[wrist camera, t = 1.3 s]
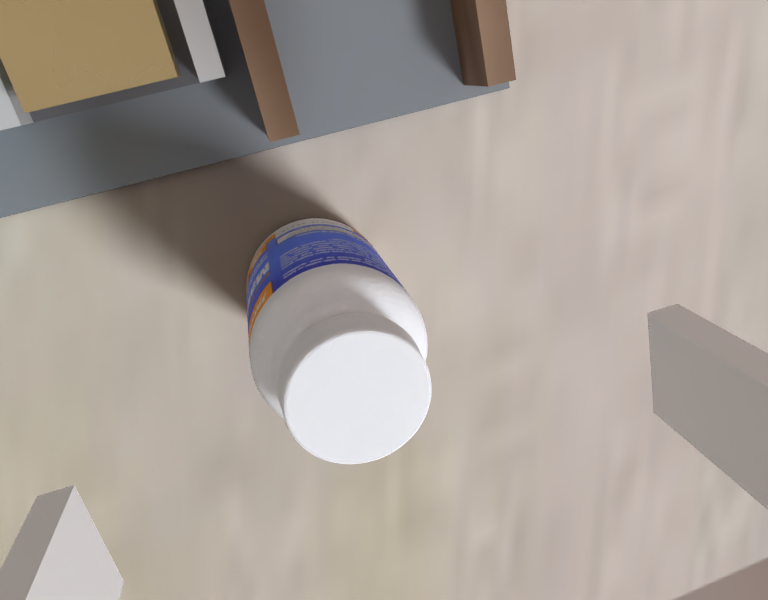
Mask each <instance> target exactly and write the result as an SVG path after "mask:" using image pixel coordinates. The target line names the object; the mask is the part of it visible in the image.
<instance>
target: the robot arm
mask: <svg viewBox="0 0 768 600" xmlns="http://www.w3.org/2000/svg"><path fill="white" fill-rule="evenodd" d="M648 329H649V345H650V361H651V377H652V394H653V410H654V413H655V414H656V415H657V416H659V417H660V418H661V419H662V420H663V421H664V422H666V423H667V424H668V425H669V426H670V427H671V428H673V429H674V430H675V431H676V432H677V433H678V434H680V435H681V436H682V437H683V438H684V439H686V440H687V441H688V442H689V443H690V444H691V445H693V446H694V447H695V448H696V449H697V450H698V451H700V452H701V453H702V454H703V455H704V456H705V457H707V458H708V459H709V460H710V461H711V462H712V463H714V464H715V465H716V466H717V467H718V468H719V469H721V470H722V471H723V472H724V473H725V474H727V475H728V476H729V477H730V478H731V479H732V480H734V481H735V482H736V483H737V484H738V485H739V486H741V487H742V488H743V489H744V490H745V491H746V492H748V493H749V494H750V495H751V496H752V497H753V498H755V499H756V500H757V501H758V502H759V503H761V504H762V505H763V506H764V507H765V508H766V509H768V353H766V352H764V351H762V350H760V349H759V348H757V347H755V346H753V345H751V344H750V343H748V342H746V341H744V340H742V339H740V338H739V337H737V336H735V335H733V334H731V333H730V332H728V331H726V330H724V329H722V328H720V327H719V326H717V325H715V324H713V323H711V322H710V321H708V320H706V319H704V318H702V317H701V316H699V315H697V314H695V313H693V312H691V311H690V310H688V309H686V308H684V307H682V306H681V305H679V304H676V305H672V306H669V307H666V308H662V309H659V310H656V311H652V312H649V313H648ZM123 582H124V581H123V579H122V577H121V575H120V573H119V571H118V569H117V567H116V565H115V563H114V561H113V559H112V557H111V555H110V553H109V551H108V549H107V548H106V546H105V544H104V542H103V540H102V538H101V536H100V534H99V532H98V530H97V528H96V526H95V524H94V522H93V520H92V518H91V516H90V514H89V512H88V511H87V509H86V507H85V505H84V503H83V501H82V499H81V497H80V495H79V493H78V491H77V489H76V487H75V485H73V486H70V487H66V488H63V489H60V490H56V491H53V492H50V493H46V494H43V495H40V496H37V498H36V500H35V502H34V504H33V506H32V508H31V510H30V512H29V514H28V516H27V518H26V520H25V522H24V524H23V526H22V528H21V530H20V532H19V534H18V536H17V538H16V540H15V542H14V544H13V546H12V548H11V550H10V552H9V554H8V556H7V558H6V560H5V562H4V564H3V566H2V568H1V570H0V600H119V598H120V594H121V590H122V586H123Z"/></svg>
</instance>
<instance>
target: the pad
mask: <svg viewBox="0 0 768 600" xmlns="http://www.w3.org/2000/svg"><path fill="white" fill-rule="evenodd" d="M0 58H1V60H2V63H3V65H4V67H5V70H6V72H7V74H8V77H9V79H10V81H11V84H12V86H13V88H14V91H15V93H16V95H17V98H18V100H19V102H20V105H21V107H22V109H23V112H24V113H28V112H33V111H38V110H42V109H46V108H51V107H55V106H59V105H63V104H68V103H72V102H76V101H80V100H84V99H89V98H93V97H97V96H101V95H105V94H110V93H114V92H118V91H122V90H126V89H131V88H135V87H139V86H143V85H147V84H152V83H156V82H160V81H164V80H168V79H173V78H177V77H181V74H180V71H179V68H178V65H177V61H176V58H175V55H174V52H173V49H172V46H171V43H170V40H169V37H168V34H167V31H166V28H165V25H164V22H163V19H162V16H161V13H160V10H159V6H158V3H157V0H0Z"/></svg>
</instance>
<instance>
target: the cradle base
mask: <svg viewBox="0 0 768 600" xmlns="http://www.w3.org/2000/svg"><path fill="white" fill-rule="evenodd" d="M157 3H158V6H159V10H160V13H161V16H162V19H163V22H164V25H165V28H166V31H167V34H168V37H169V40H170V43H171V46H172V49H173V52H174V55H175V58H176V61H177V65H178V68H179V71H180V74H181V77H177V78H173V79H168V80H164V81H160V82H156V83H152V84H147V85H143V86H139V87H135V88H131V89H126V90H122V91H118V92H114V93H110V94H105V95H101V96H97V97H93V98H89V99H84V100H80V101H76V102H72V103H68V104H63V105H59V106H55V107H51V108H46V109H42V110H38V111H33V112H28V113H24V112H23V109H22V107H21V105H20V102H19V100H18V98H17V95H16V93H15V91H14V88H13V86H12V84H11V81H10V79H9V77H8V74H7V72H6V70H5V67H4V65H3V63H2V60H1V58H0V131H1V130H5V129H9V128H13V127H17V126H22V125H26V124H30V123H34V122H38V121H42V120H46V119H51V118H55V117H59V116H63V115H67V114H71V113H76V112H80V111H84V110H88V109H92V108H96V107H101V106H105V105H109V104H113V103H117V102H121V101H126V100H130V99H134V98H138V97H142V96H146V95H151V94H155V93H159V92H163V91H167V90H172V89H176V88H180V87H184V86H188V85H192V84H197V83H201V82H205V81H209V80H213V79H218V78H222V77H226V76H227V75H226V71H225V68H224V65H223V61H222V58H221V55H220V51H219V48H218V45H217V41H216V38H215V35H214V31H213V28H212V25H211V21H210V18H209V15H208V11H207V8H206V5H205V1H204V0H157Z"/></svg>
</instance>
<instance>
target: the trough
mask: <svg viewBox="0 0 768 600" xmlns="http://www.w3.org/2000/svg"><path fill="white" fill-rule="evenodd" d="M228 2H229V5H230V9H231V12H232V16H233V19H234V23H235V26H236V30H237V33H238V37H239V40H240V44H241V47H242V51H243V54H244V58H245V61H246V65H247V68H248V71H249V75H250V78H251V82H252V85H253V89H254V92H255V96H256V99H257V103H258V106H259V110H260V113H261V117H262V120H263V124H264V127H265V131H266V134H267V137H268V140H269V142H273V141H277V140H281V139H285V138H289V137H292V136H296V135H300V133H299V130H298V126H297V122H296V118H295V115H294V111H293V107H292V103H291V100H290V96H289V92H288V88H287V85H286V81H285V77H284V73H283V70H282V66H281V62H280V58H279V55H278V51H277V47H276V43H275V40H274V36H273V32H272V28H271V25H270V21H269V17H268V13H267V10H266V6H265V2H264V0H228ZM450 3H451V9H452V16H453V22H454V28H455V34H456V40H457V46H458V53H459V59H460V65H461V71H462V77H463V84H464V85H468V86H485V87H489V86H493V85H497V84H501V83H505V82H509V81H513V80H516V76H515V68H514V60H513V53H512V45H511V37H510V30H509V22H508V15H507V7H506V0H450Z"/></svg>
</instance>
